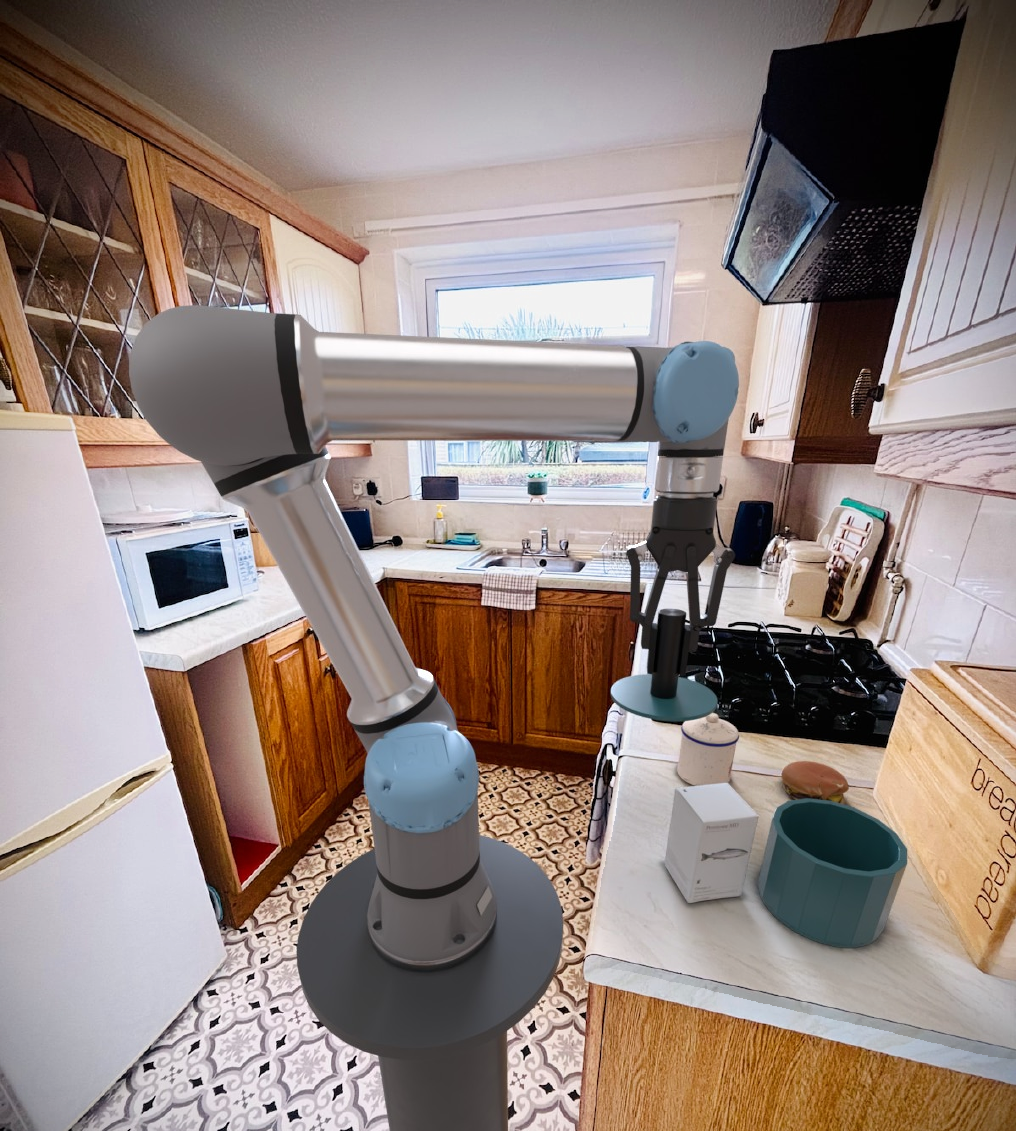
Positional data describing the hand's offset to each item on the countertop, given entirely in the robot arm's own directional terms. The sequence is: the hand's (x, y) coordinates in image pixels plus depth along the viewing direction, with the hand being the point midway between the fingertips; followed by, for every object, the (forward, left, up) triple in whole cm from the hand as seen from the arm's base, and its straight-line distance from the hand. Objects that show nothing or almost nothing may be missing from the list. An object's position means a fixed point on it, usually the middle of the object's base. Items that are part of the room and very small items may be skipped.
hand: (665, 671), depth 76 cm
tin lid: (0, 0, -4) cm, 4 cm away
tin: (+20, -15, -23) cm, 34 cm away
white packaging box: (+6, -14, -24) cm, 28 cm away
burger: (+26, +9, -24) cm, 36 cm away
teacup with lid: (+9, +13, -24) cm, 28 cm away
